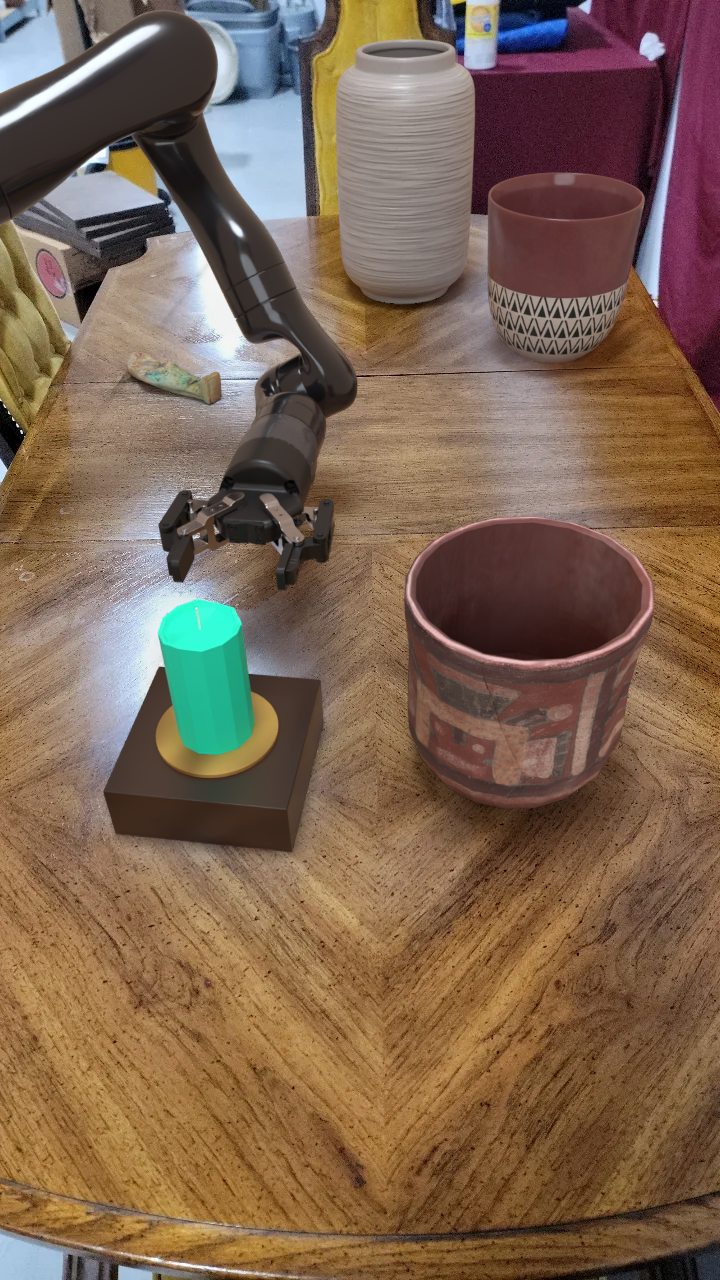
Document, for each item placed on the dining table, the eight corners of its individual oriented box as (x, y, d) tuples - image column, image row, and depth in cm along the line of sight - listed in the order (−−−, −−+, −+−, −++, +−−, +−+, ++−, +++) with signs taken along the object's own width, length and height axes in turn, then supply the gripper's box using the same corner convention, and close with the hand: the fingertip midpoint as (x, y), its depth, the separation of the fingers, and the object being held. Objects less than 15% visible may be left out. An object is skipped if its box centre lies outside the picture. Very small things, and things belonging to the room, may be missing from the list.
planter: (504, 394, 131) (517, 226, 117) (462, 334, 145) (469, 179, 131) (642, 377, 133) (671, 211, 119) (588, 320, 148) (608, 167, 134)
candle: (234, 763, 75) (215, 643, 67) (164, 744, 76) (137, 624, 69) (267, 710, 79) (253, 591, 71) (200, 693, 81) (179, 575, 73)
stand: (115, 834, 77) (101, 788, 73) (167, 707, 87) (157, 662, 84) (292, 852, 75) (286, 806, 71) (323, 721, 85) (320, 675, 82)
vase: (316, 295, 158) (303, 54, 136) (386, 256, 170) (385, 30, 148) (424, 322, 149) (429, 69, 127) (490, 279, 161) (504, 42, 139)
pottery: (621, 855, 74) (663, 678, 62) (388, 826, 77) (387, 651, 65) (616, 693, 87) (650, 522, 75) (418, 672, 90) (421, 504, 78)
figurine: (194, 413, 129) (190, 386, 126) (121, 380, 136) (116, 354, 134) (225, 398, 132) (222, 371, 129) (152, 367, 140) (147, 341, 137)
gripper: (191, 430, 89) (133, 532, 77) (347, 439, 87) (314, 545, 75) (202, 501, 94) (149, 608, 82) (350, 511, 92) (319, 621, 80)
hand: (228, 577), depth 78 cm, fingers open, 8 cm apart
